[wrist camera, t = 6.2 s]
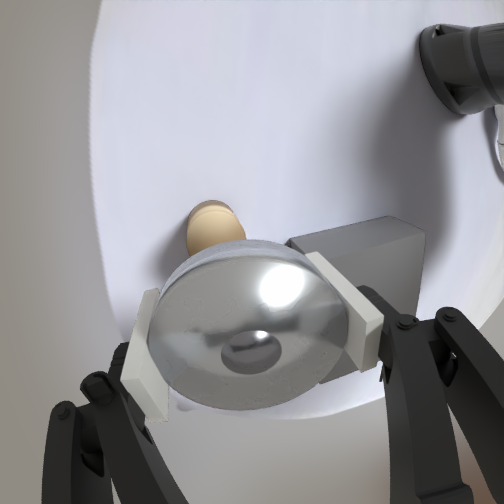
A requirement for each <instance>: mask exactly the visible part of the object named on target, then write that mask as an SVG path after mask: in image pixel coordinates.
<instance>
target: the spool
mask: <svg viewBox="0 0 504 504" xmlns="http://www.w3.org/2000/svg"><path fill="white" fill-rule="evenodd" d="M236 240H246V235H245V232H244V229H243V227H242V226H241V224H240V222H239V221H238V219H237V218H236V216H235V214H234V213H233V211H232V210H231V208H230V207H229V206H227V205H226V204H225V203H223V202H220V201H216V200H209V201H205V202H202V203H200V204H199V205H197V206H196V207H195V208H194V209H193V210H192V212H191V214H190V216H189V219H188V228H187V240H186V244H187V250H188V253H189V255H190V257H191V256H193V255H195V254H196V253H198V252H200V251H202V250H204V249H206V248H209V247H211V246H214V245H217V244H221V243H225V242H229V241H236Z"/></svg>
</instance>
